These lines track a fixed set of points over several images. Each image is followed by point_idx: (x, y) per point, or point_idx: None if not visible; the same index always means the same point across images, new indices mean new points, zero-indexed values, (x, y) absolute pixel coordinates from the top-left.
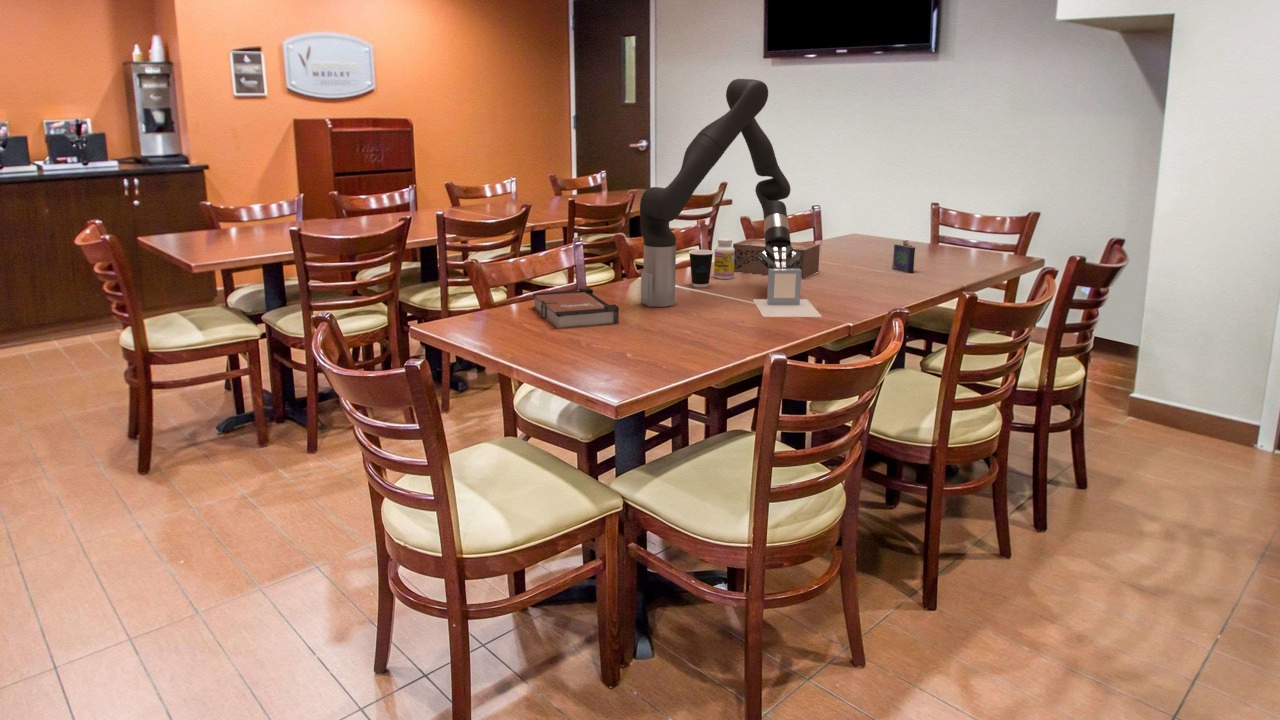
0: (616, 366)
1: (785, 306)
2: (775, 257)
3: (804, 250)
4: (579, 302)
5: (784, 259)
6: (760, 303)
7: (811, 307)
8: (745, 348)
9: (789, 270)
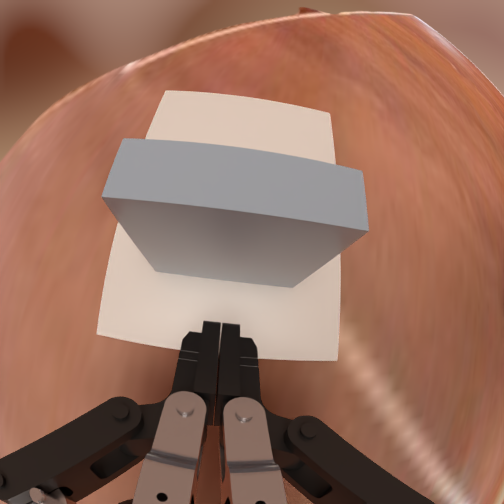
0: (447, 52)
1: None
2: (277, 491)
3: None
4: None
5: (163, 461)
6: (320, 277)
7: None
8: (353, 26)
9: (212, 144)
